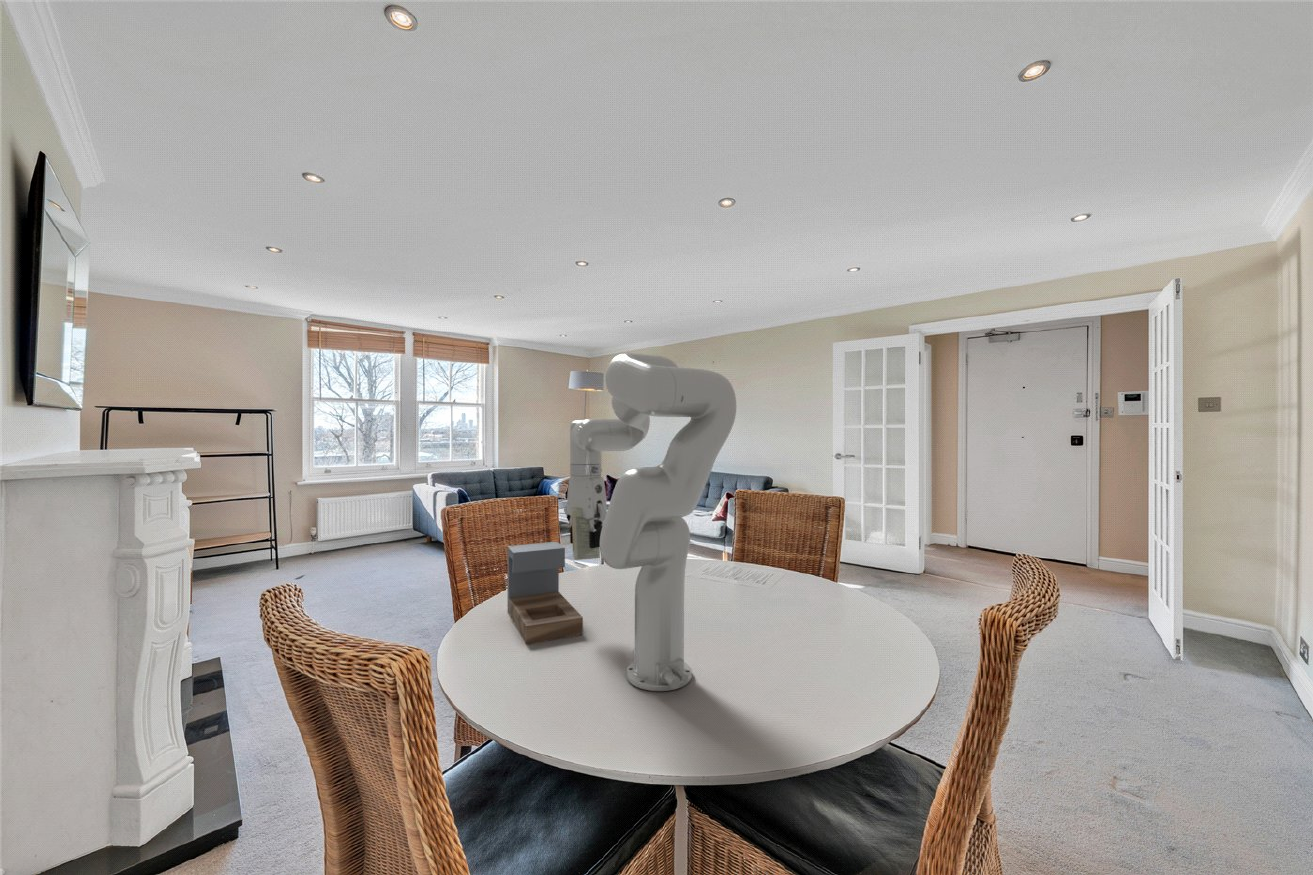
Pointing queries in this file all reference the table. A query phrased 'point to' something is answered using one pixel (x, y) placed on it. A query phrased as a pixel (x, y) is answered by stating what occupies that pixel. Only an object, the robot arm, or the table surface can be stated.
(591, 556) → the skincare box
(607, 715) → the table surface
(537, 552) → the grey overhang panel
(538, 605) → the socket block
